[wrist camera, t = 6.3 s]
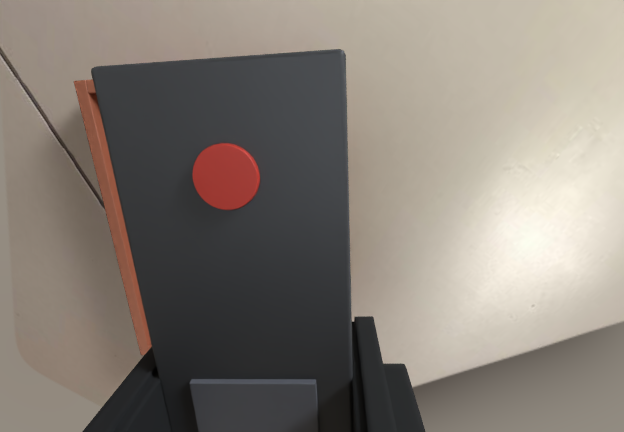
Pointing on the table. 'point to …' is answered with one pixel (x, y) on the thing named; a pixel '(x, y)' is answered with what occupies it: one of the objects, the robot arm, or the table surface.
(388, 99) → the table surface
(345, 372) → the tv remote
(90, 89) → the tray
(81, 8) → the table surface
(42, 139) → the table surface
